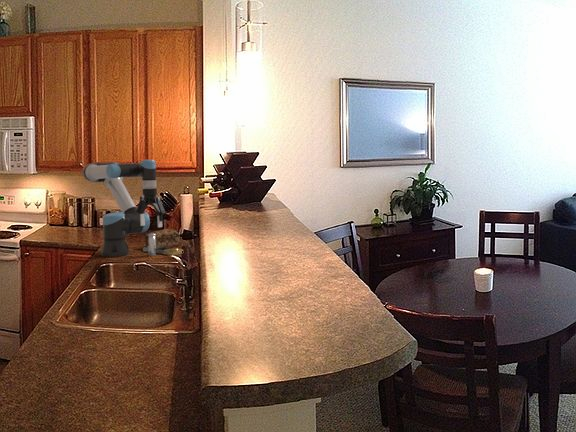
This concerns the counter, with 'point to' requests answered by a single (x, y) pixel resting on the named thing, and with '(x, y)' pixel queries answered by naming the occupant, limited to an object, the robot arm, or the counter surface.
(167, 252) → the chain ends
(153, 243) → the pin
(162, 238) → the bread
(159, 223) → the robot arm
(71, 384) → the counter surface
